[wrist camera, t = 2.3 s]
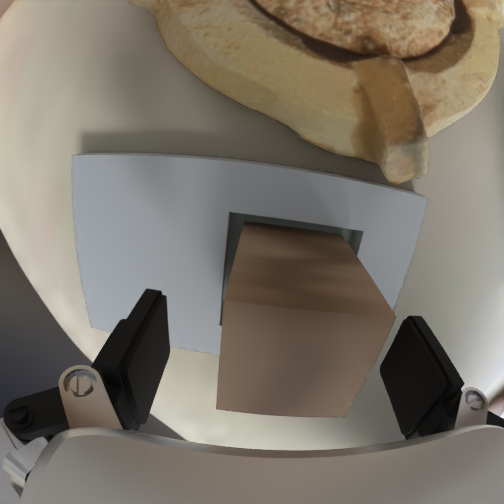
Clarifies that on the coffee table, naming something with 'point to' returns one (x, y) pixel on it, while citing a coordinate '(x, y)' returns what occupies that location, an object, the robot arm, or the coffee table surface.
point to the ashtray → (344, 66)
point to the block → (298, 324)
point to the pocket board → (217, 230)
